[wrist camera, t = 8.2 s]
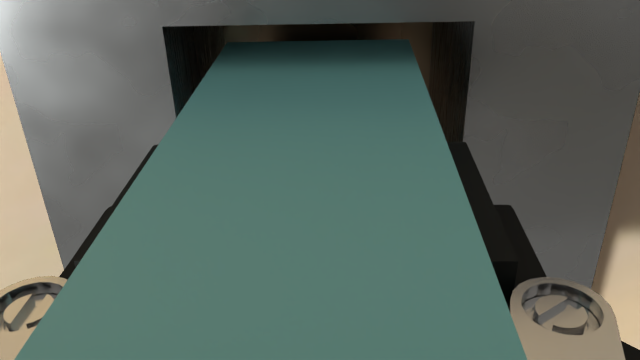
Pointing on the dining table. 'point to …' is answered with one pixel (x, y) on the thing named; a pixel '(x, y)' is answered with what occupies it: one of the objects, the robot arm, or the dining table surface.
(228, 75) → the teal post
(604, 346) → the robot arm
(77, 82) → the well
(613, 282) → the dining table surface
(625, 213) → the dining table surface
